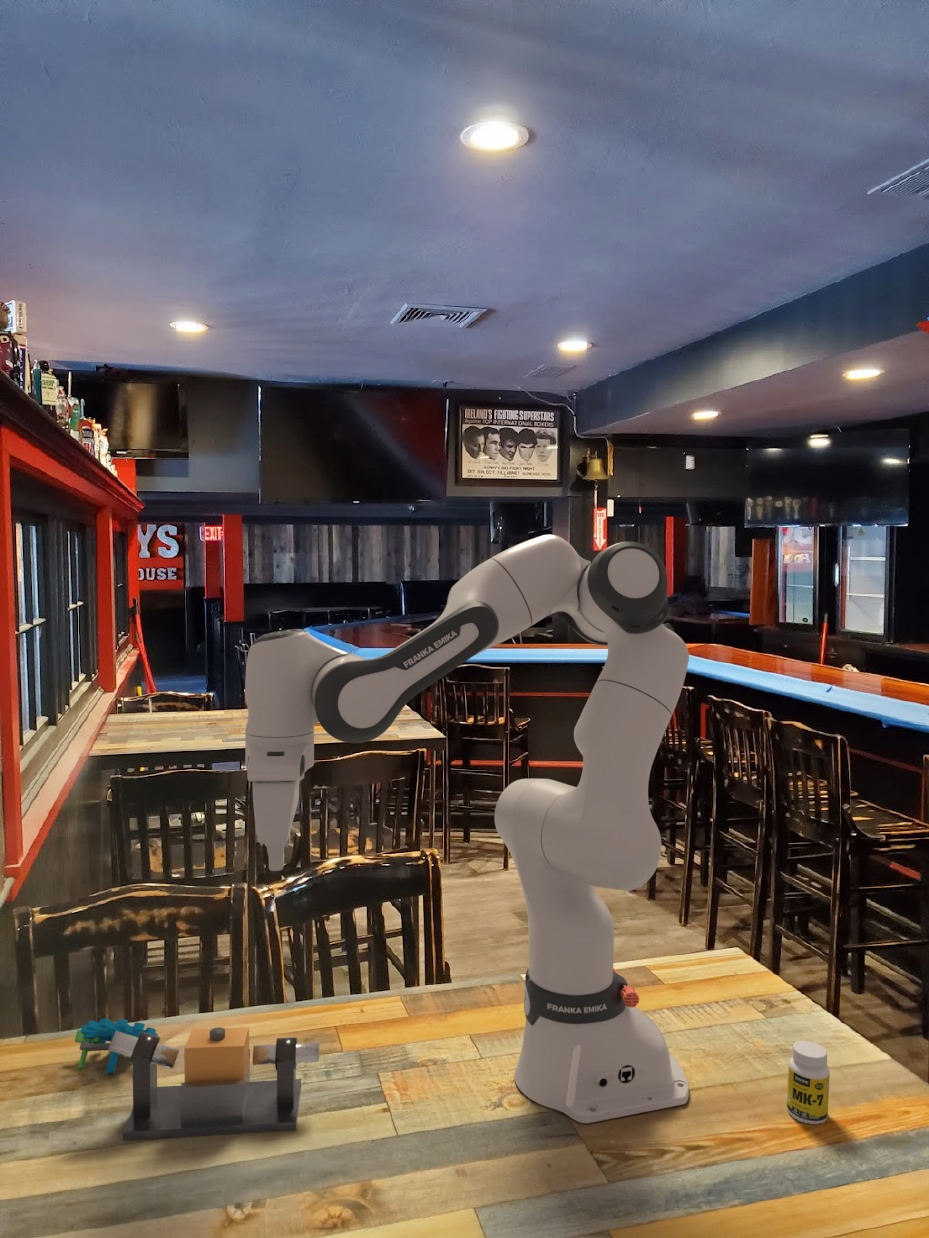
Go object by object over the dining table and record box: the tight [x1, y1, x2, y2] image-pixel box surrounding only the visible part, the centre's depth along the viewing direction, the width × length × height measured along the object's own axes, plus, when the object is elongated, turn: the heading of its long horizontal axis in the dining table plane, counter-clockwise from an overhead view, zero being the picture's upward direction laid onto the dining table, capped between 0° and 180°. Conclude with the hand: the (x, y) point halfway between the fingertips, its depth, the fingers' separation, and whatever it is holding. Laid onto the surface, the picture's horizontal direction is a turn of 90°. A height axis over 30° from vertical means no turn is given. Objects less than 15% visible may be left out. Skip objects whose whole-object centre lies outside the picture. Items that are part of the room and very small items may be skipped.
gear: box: [74, 1018, 159, 1075], centre depth 120 cm, size 11×6×10 cm
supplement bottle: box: [786, 1040, 831, 1125], centre depth 111 cm, size 5×5×8 cm
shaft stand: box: [107, 1031, 321, 1141], centre depth 110 cm, size 25×9×11 cm, turn 97°
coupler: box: [183, 1026, 250, 1086], centre depth 110 cm, size 7×4×6 cm, turn 96°
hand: (279, 856), depth 117 cm, fingers open, 8 cm apart
